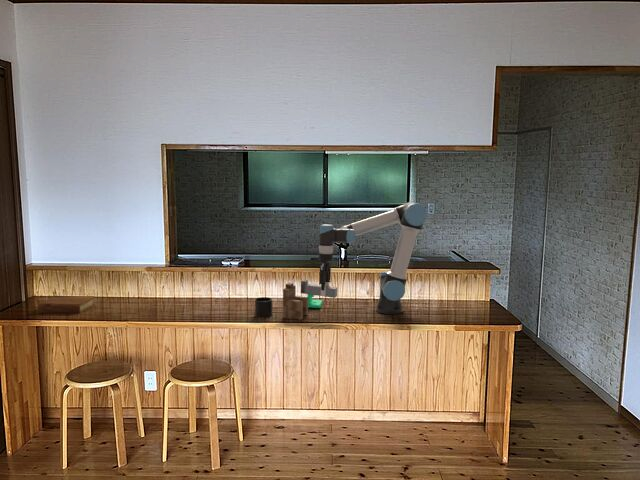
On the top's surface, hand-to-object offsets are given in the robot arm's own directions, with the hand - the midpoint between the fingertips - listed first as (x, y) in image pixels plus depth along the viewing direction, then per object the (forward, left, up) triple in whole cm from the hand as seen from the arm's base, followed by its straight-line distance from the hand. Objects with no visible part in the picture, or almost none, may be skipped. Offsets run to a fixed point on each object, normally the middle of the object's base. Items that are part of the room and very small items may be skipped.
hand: (324, 294), depth 278 cm
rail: (+3, 0, 0) cm, 3 cm away
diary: (+145, +34, -13) cm, 150 cm away
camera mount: (+12, -19, -13) cm, 26 cm away
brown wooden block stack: (+15, +4, -12) cm, 20 cm away
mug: (+33, +7, -13) cm, 36 cm away
